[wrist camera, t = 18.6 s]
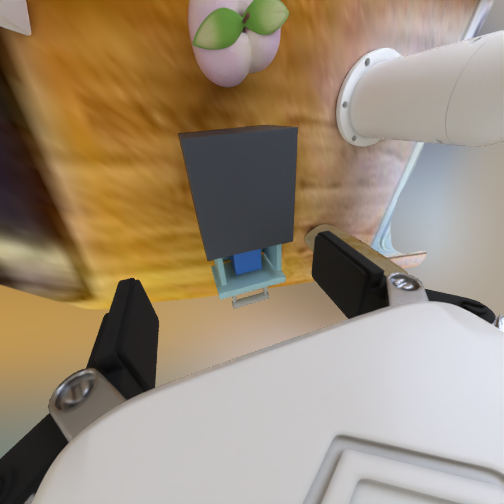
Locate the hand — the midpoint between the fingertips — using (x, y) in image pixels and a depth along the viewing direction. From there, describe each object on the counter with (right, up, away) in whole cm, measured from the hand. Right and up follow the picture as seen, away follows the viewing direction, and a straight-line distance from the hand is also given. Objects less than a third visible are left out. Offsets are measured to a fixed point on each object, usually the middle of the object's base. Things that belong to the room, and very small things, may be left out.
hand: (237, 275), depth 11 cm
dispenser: (-3, +12, +23) cm, 26 cm away
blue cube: (-1, +2, +27) cm, 27 cm away
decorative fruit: (-3, +26, +14) cm, 30 cm away
